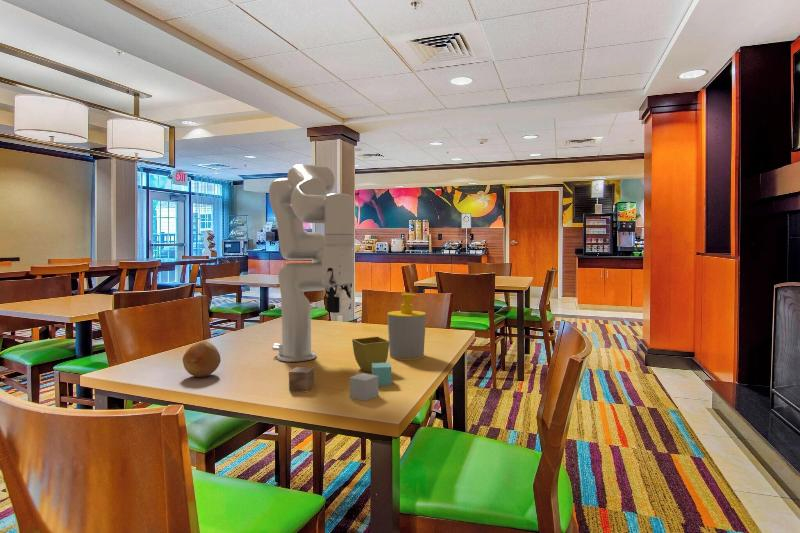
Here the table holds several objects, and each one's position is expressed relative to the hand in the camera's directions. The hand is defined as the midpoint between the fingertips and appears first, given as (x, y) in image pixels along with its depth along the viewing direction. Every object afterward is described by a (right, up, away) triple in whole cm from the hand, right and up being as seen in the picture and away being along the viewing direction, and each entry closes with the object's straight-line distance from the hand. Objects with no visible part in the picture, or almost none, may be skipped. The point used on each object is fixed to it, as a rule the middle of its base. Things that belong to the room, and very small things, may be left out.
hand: (339, 309), depth 121 cm
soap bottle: (+18, -19, +36) cm, 44 cm away
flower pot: (+7, -20, +18) cm, 28 cm away
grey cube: (+7, -21, -7) cm, 23 cm away
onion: (-41, -20, +11) cm, 47 cm away
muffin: (0, -1, 0) cm, 1 cm away
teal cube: (+11, -20, +4) cm, 23 cm away
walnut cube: (-10, -20, 0) cm, 23 cm away
